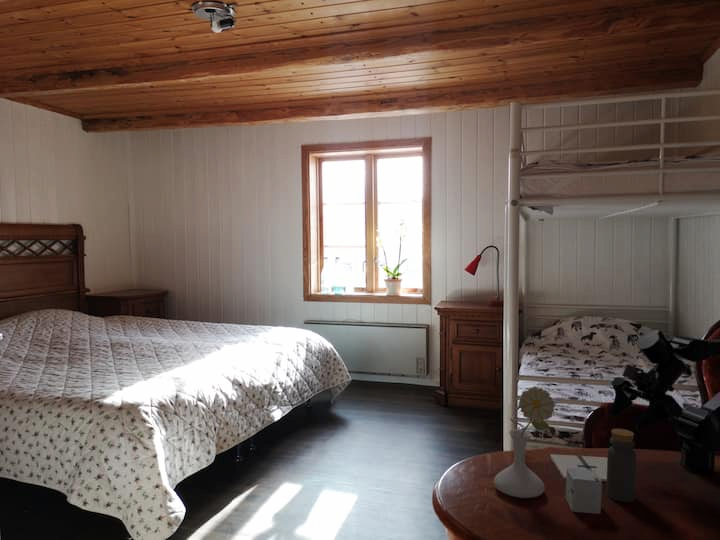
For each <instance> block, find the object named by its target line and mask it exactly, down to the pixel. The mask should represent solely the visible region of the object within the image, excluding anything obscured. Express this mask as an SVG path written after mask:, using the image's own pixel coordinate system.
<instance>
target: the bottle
mask: <svg viewBox="0 0 720 540" xmlns="http://www.w3.org/2000/svg"><path fill="white" fill-rule="evenodd" d="M634 436H635V433H634V432H633V431H631V430H628V429H624V428H613V429H611V437H610V438H609V443H610V444H611V446H609V447H608V448H607V482H606V490H605V491H606V496H607V497H608V498H609V499H611V500H614V501H617V502H621V503H630V502H631V503H632V502H633V501H635V494H636V473H637V472H636V471H637V470H636V469H637V468H636V467H637V453H636V451H635V450H634V449H633V448H634V447H635V445H636V442H635V440H634Z"/></svg>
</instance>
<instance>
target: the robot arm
mask: <svg viewBox="0 0 720 540" xmlns="http://www.w3.org/2000/svg"><path fill="white" fill-rule="evenodd" d="M635 346H636V348H637V349H638V350H639V351H640V352H641V353H642V355H643V356H644V357H645V358H646V359H647V360H648V361H649V362H650V363H651V364H654V367H652V368H649V367H645V368H644V369H642V368H640V367H638V366H637V367H636V366H634V365H631V364H626V366H625V369H624V370H623V373H622V377H615V378H614V379H613V380H612V382H611V383H610V384H611V385H612V388H613V391H614V399H613V403H612V405H611V409H610V411H609V415H610V417H612V418H614V417H615V416H618V414H620V413H622V412H623V411H624V410H625V409H627V408H628V407H630V406H631V405H633V404H634V402H633V401H635V400H637V399H641V400H643V401H646V402H648V408H647V409H646V410H645V412H644V413H643V414H642V415H641V417H640V418H639V420H637V423H636V424H635V428H636V429H637V430H641V429H643V428H647V427H648V426H649V427H650V426H652V425H654V424H657V423H661V422H663V421H668V420H669V421H672V420H673V419H675V420H674V429H675V431H676V432H675V433H676V434H677V438H678V440H680V441H683V443H682V444H683V445H682V447H681V450H680V460H679V463H680V464H681V465H682V466H683V467H684V468H686V469H687V470H688V471H689V472H690V473H698V474H716V475H718V474H719V473H718V471H717V470H716V469H715V458H716V457H715V456H716V453H717V451H718V452H719V451H720V438H719V436H718V435H717V433H718V432H719V431H718V430H719V427H720V426H719V425H720V391H719V392H718V393H716V394H715V395H714V396H713V397H712V398H711V399H709V400H708V401H706V403H705V404H704V405H703V406H701V407H696V406H693V405H691V404H690V405H688V406H686V407H685V408H684V409H683V407H682V406H681V404H679V403H678V402H677V399H675V398H674V397H673V396H672V395H670V394H667V392H671V393H673V391H674V390H675V388H674V386H673V385H674V384H675V383H676V382H677V381H678V380H679V378H680V377H681V376H682V375H684V376H687V377H688V376H689V377H692V374H693V372H692V368H691V367H692V366H691V365H690V364H687V363H685V362H684V360H686V361H689V362H693V363H694V362H695V363H699V362H703V361H706V360H708V359H710V358H711V357H718V356H720V338H717V339H715V338H714V339H713V338H712V339H710V338H709V339H703V338H702V339H701V338H696V337H690V336H685V335H675V336H674V337H673V338H672V339H669V340H668V338H666V337H665V334H664V333H663V332H662V330H658V329H654V330H653V331H652V332H647V333H645V334H643V335H642V336H639V337H638V339H637V340H636V342H635ZM625 378H628V379H629V380H627V379H625ZM630 380H632V382H631V381H630Z"/></svg>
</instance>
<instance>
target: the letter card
mask: <svg viewBox="0 0 720 540" xmlns="http://www.w3.org/2000/svg"><path fill="white" fill-rule="evenodd" d="M549 457H550V458H551V460H552V462H553V463H554V465H555V467H556V466H557V467H556V468H557V470H558V471H560V472H559V473H560V475H561V476H563V477H562V478H563V479H564V480H566V476H567V468H577V469H589V470H594V471H595V472H596V473H597V475H598V476H599V478H600V479H601V481H602V482H604V481H605V482H606V483H607V457H608V456H607V457H605V456H590V455H589V456H587V455H573V454H572V455H571V454H566V455H565V454H550V455H549Z"/></svg>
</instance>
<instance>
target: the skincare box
mask: <svg viewBox="0 0 720 540" xmlns="http://www.w3.org/2000/svg"><path fill="white" fill-rule="evenodd" d="M565 480H566V481H565V482H566V483H565V500H566V502H567V504H568V505H569V508H570V510H571V512H573V513H574V512H575V513H583V514H584V513H585V514H586V513H587V514H596V515H601V513H602V512H601V511H602V510H601V509H602V508H601V507H602V490H603V489H602V488H603V481H601V479H600V478H599V476H598V475H597V473H596V472H595V471H594V470H589V469H577V468H567V476H566V479H565Z"/></svg>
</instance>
